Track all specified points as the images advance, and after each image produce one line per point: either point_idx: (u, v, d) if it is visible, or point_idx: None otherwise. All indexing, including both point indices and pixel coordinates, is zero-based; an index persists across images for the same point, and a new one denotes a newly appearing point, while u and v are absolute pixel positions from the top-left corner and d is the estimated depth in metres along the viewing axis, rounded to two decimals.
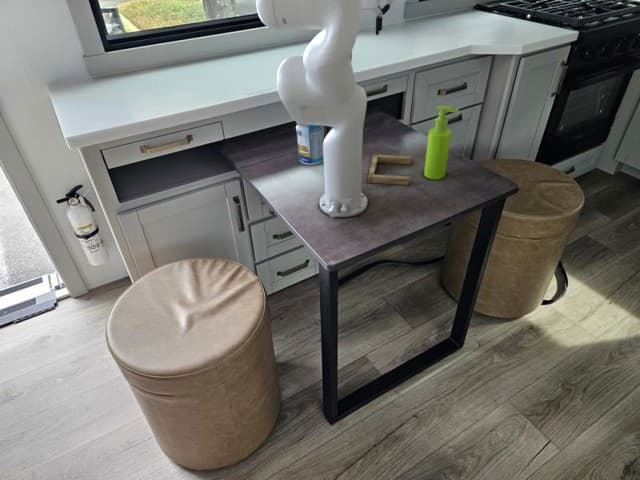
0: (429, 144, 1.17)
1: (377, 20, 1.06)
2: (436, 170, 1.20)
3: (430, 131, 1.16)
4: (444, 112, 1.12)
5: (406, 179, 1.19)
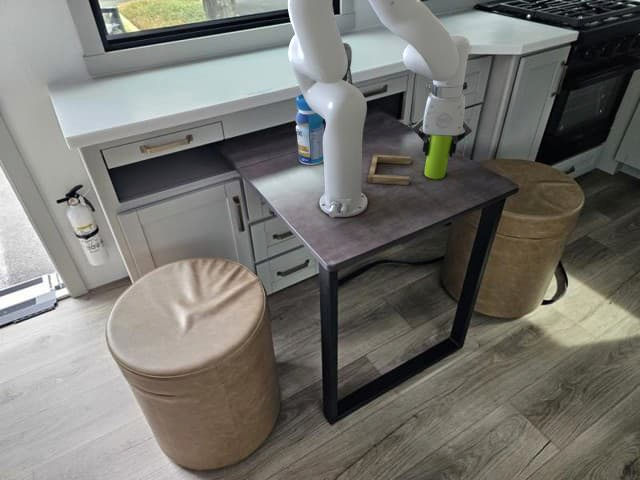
0: (431, 143, 1.17)
1: (452, 146, 1.16)
2: (437, 170, 1.20)
3: None
4: None
5: (406, 179, 1.19)
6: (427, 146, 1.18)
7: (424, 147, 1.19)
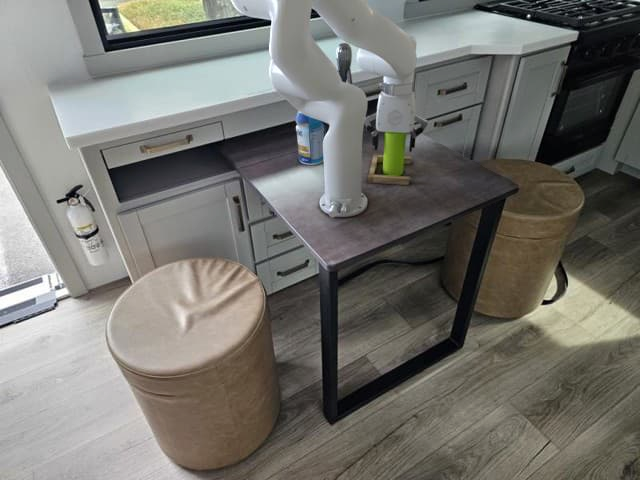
0: (385, 142, 1.19)
1: (411, 140, 1.17)
2: (393, 167, 1.22)
3: None
4: None
5: (406, 179, 1.19)
6: (376, 140, 1.19)
7: (373, 141, 1.20)
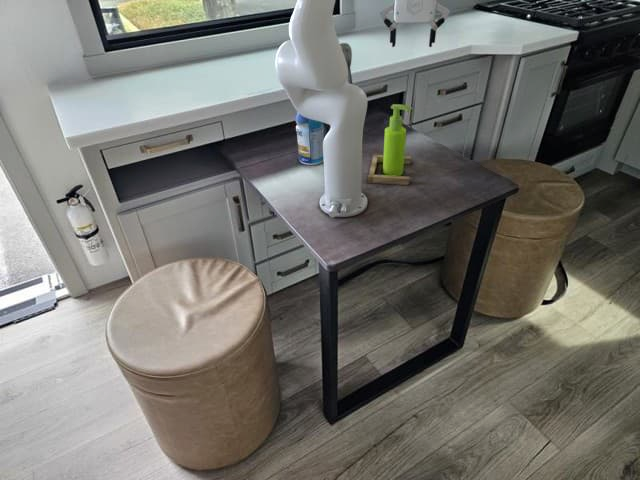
0: (385, 142, 1.19)
1: (431, 33, 1.10)
2: (393, 167, 1.22)
3: (386, 129, 1.19)
4: (398, 110, 1.14)
5: (406, 179, 1.19)
6: (394, 35, 1.12)
7: (391, 37, 1.13)
